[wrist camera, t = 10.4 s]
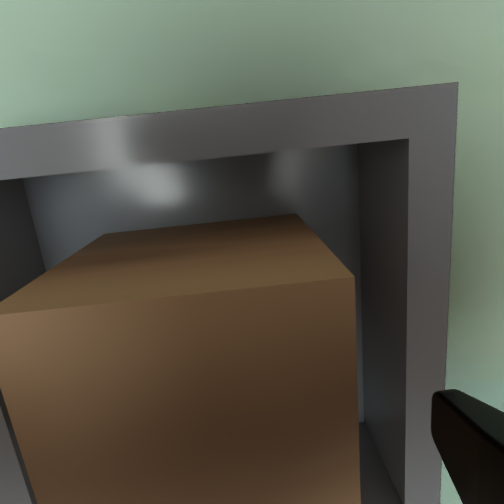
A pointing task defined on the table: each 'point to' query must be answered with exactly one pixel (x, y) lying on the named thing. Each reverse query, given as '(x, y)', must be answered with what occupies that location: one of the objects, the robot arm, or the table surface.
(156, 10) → the table surface
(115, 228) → the grey square tray
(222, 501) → the walnut cube
